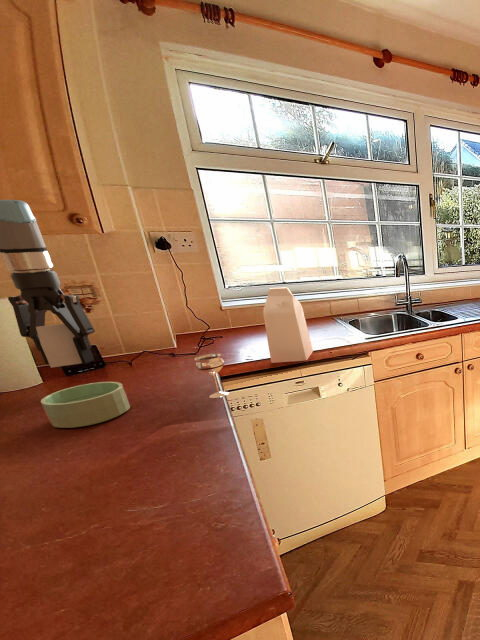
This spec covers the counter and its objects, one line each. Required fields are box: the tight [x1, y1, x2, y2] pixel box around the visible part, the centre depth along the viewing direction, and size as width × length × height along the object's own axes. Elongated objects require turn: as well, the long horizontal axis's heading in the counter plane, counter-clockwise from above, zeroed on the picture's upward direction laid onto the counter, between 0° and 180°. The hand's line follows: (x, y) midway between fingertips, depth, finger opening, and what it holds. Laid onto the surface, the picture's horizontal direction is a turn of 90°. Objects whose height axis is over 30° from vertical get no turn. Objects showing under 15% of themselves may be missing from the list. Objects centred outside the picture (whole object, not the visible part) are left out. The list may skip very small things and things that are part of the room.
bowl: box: [40, 381, 131, 429], centre depth 113 cm, size 16×16×7 cm
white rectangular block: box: [36, 323, 83, 369], centre depth 106 cm, size 4×7×10 cm, turn 126°
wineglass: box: [193, 352, 229, 399], centre depth 125 cm, size 7×7×12 cm
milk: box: [262, 287, 314, 364], centre depth 156 cm, size 12×12×26 cm
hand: (70, 362), depth 108 cm, fingers closed on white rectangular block, 8 cm apart
